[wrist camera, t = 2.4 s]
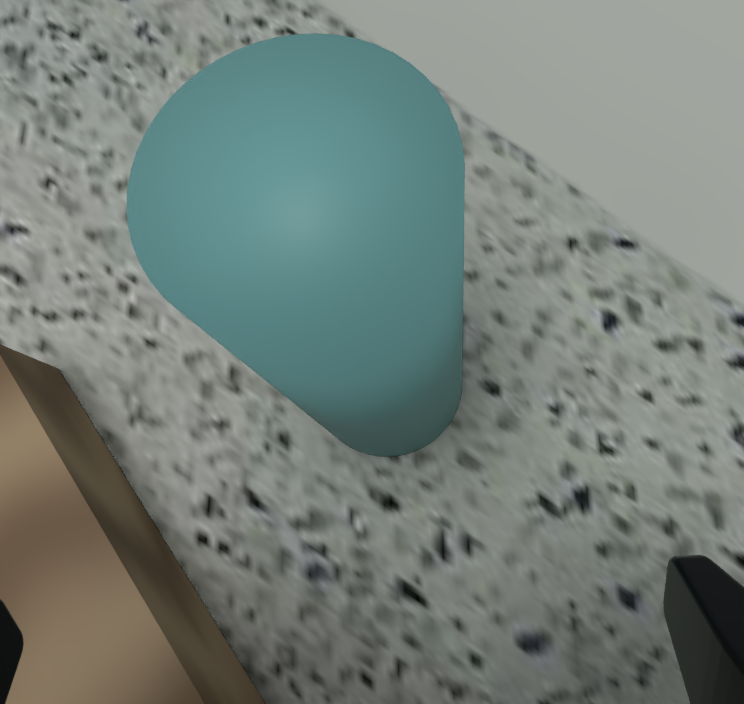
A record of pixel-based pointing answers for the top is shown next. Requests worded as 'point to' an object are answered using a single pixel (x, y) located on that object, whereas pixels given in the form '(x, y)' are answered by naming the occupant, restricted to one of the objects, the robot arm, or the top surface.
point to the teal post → (315, 230)
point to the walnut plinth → (93, 566)
